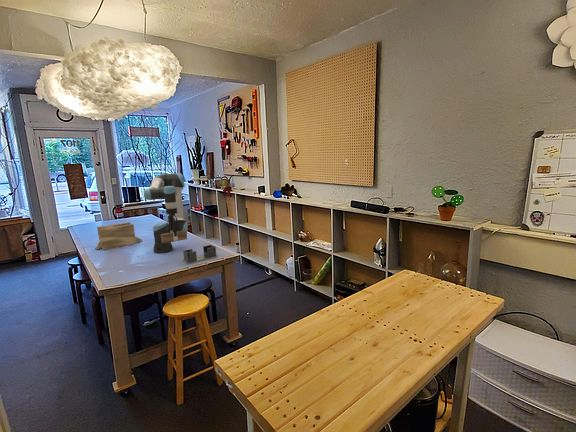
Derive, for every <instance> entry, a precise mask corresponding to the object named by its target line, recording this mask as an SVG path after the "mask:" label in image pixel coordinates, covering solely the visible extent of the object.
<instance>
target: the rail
mask: <svg viewBox="0 0 576 432" xmlns="http://www.w3.org/2000/svg"><path fill="white" fill-rule="evenodd" d="M187 235H188V232H187V233H186V231H185V230H183V231H177V238H178V240H177V241H176V242H179V241H183V240H184V241H185V240H188V236H187ZM161 242H162V243H163V244H164V243H169V242H171V243H173V242H175V241H174V239H173V232H172V233H166V234H161Z"/></svg>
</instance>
